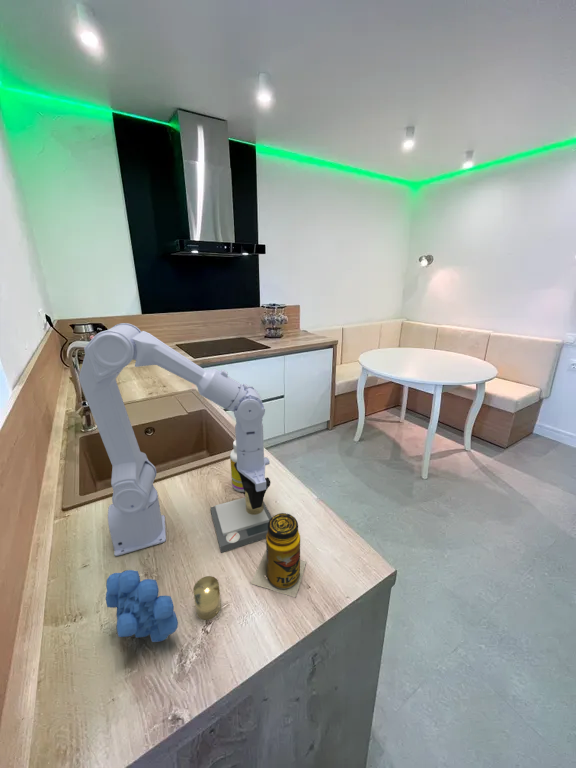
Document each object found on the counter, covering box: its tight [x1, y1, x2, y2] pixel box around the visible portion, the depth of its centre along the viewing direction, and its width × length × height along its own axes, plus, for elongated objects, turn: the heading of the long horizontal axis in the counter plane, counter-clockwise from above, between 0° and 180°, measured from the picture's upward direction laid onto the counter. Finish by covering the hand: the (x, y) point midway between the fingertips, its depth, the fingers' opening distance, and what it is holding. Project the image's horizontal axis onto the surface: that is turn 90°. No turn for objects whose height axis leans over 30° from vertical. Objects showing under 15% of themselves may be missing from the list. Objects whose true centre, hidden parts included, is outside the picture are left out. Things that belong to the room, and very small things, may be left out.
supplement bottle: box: [229, 439, 245, 493], centre depth 79 cm, size 7×7×13 cm
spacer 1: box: [192, 575, 222, 621], centre depth 50 cm, size 4×4×5 cm
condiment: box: [250, 512, 307, 598], centre depth 55 cm, size 7×8×12 cm
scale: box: [210, 497, 273, 554], centre depth 68 cm, size 12×12×2 cm
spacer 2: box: [244, 490, 265, 515], centre depth 69 cm, size 4×4×5 cm
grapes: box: [105, 569, 179, 643], centre depth 45 cm, size 12×7×12 cm, turn 74°
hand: (252, 498), depth 69 cm, fingers open, 5 cm apart
